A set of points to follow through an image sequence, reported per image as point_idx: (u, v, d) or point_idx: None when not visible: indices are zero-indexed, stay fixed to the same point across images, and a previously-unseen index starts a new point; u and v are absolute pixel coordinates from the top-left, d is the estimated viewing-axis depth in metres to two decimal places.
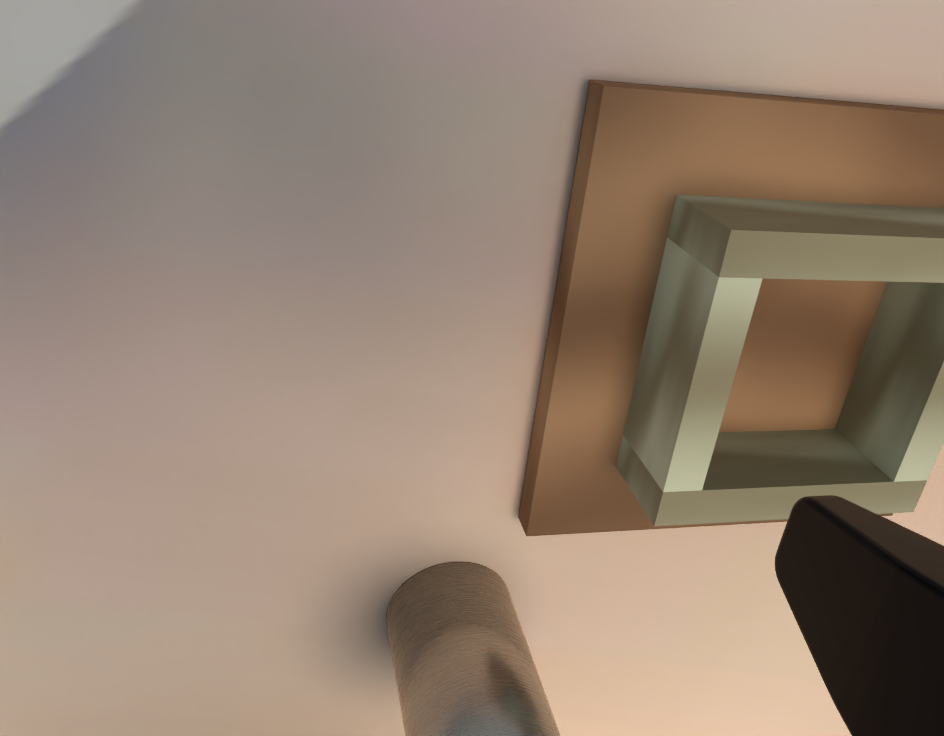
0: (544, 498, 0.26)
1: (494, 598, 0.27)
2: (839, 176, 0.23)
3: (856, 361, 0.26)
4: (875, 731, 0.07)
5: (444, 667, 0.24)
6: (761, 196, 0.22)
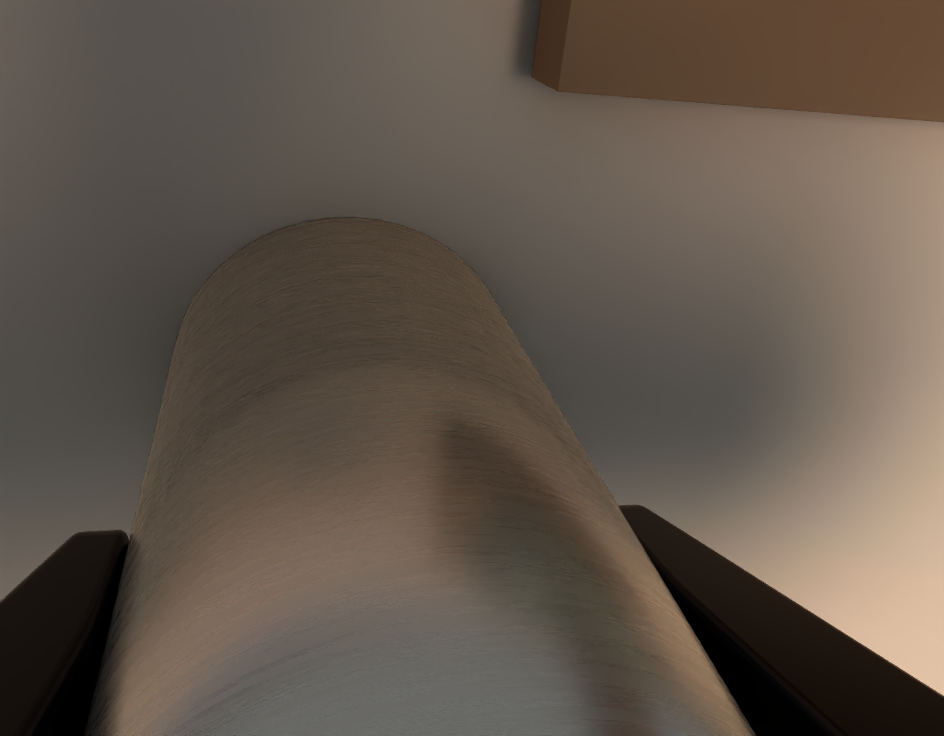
0: None
1: (461, 287, 0.09)
2: None
3: None
4: None
5: (251, 419, 0.06)
6: None
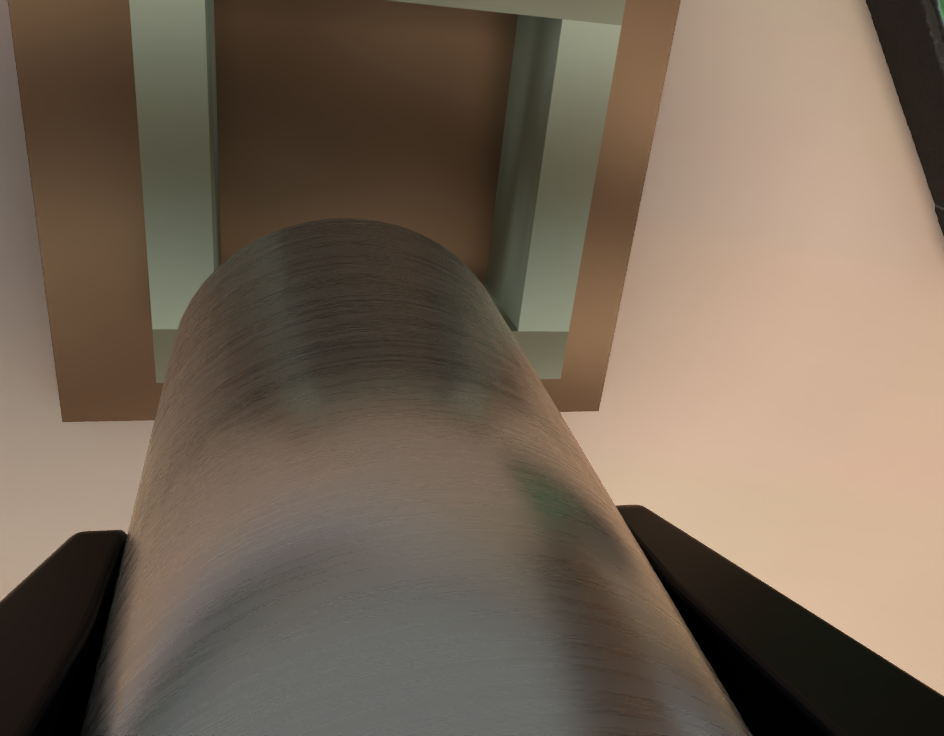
0: (73, 367, 0.19)
1: (460, 288, 0.09)
2: None
3: (494, 183, 0.19)
4: None
5: (249, 420, 0.06)
6: None
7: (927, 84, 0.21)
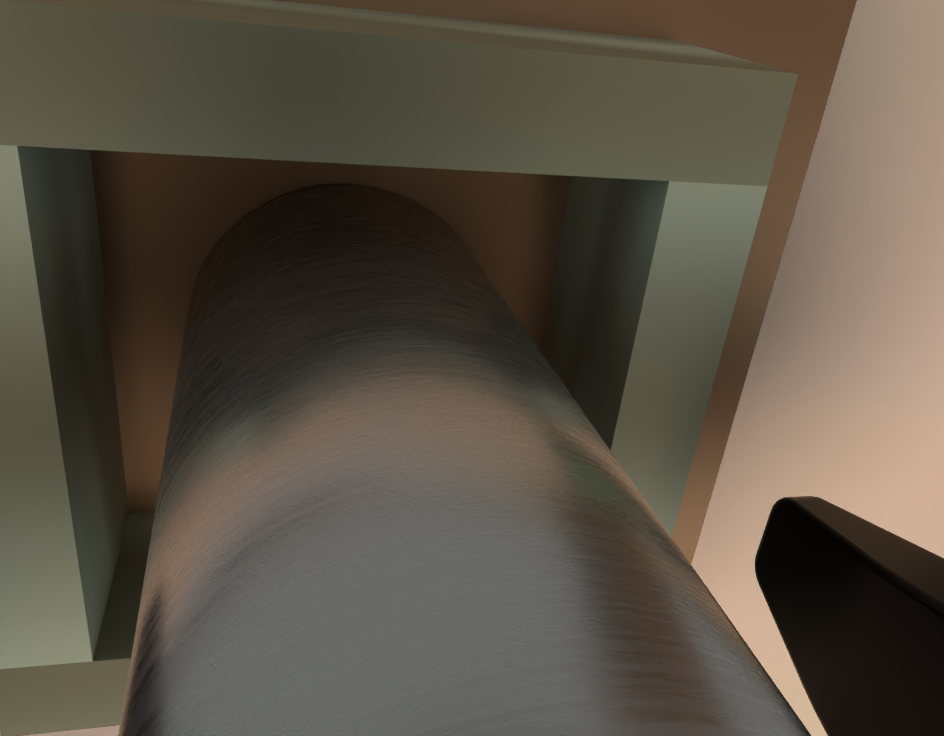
0: None
1: (446, 240, 0.10)
2: None
3: None
4: (852, 734, 0.07)
5: (273, 332, 0.07)
6: None
7: None
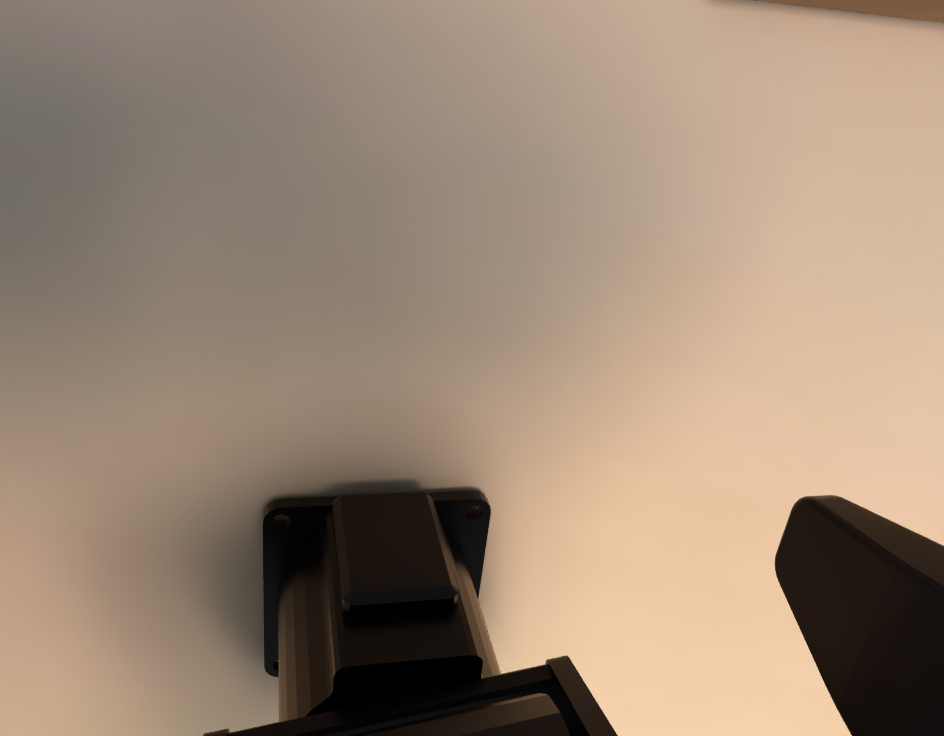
0: None
1: None
2: None
3: None
4: (875, 731, 0.07)
5: None
6: None
7: None
